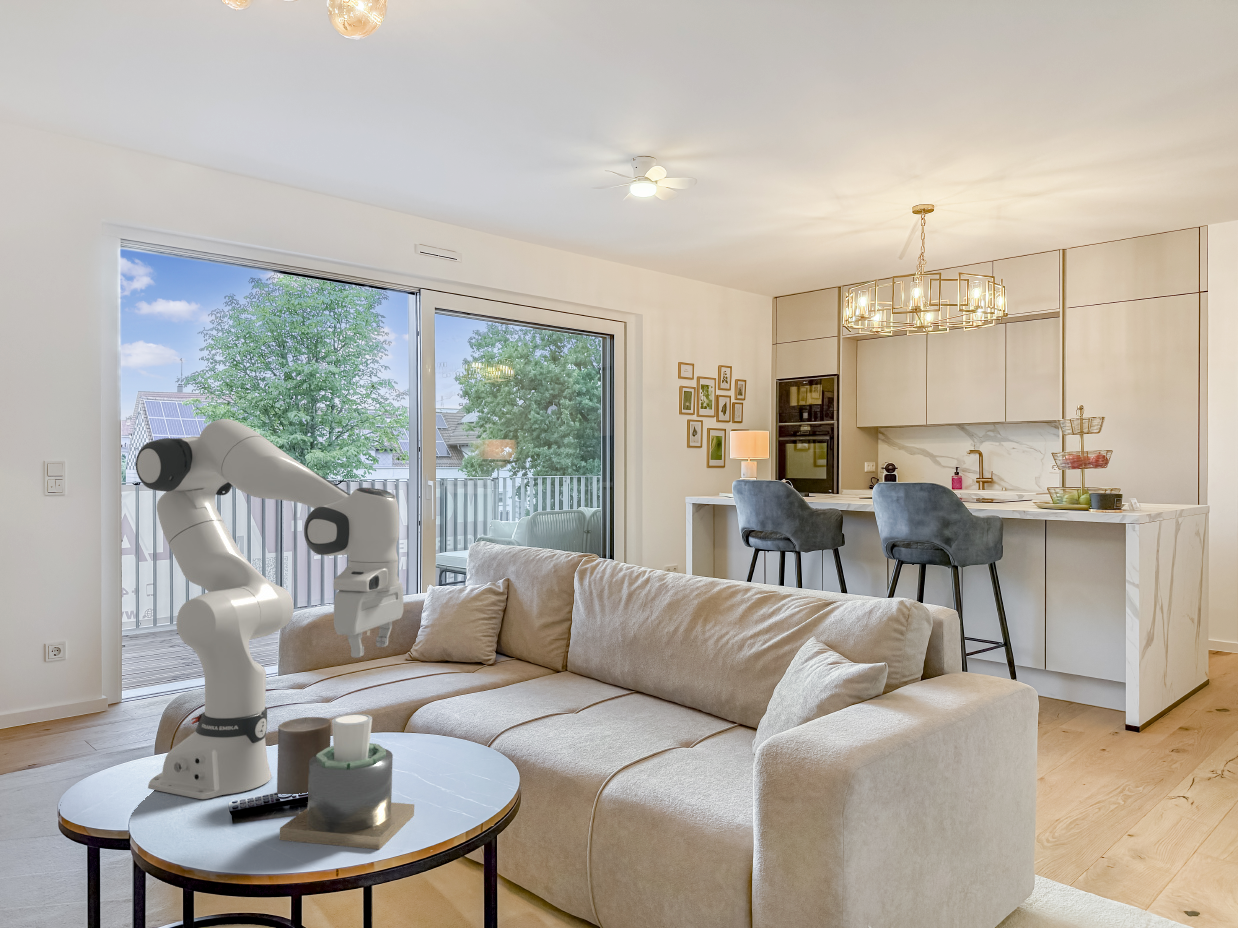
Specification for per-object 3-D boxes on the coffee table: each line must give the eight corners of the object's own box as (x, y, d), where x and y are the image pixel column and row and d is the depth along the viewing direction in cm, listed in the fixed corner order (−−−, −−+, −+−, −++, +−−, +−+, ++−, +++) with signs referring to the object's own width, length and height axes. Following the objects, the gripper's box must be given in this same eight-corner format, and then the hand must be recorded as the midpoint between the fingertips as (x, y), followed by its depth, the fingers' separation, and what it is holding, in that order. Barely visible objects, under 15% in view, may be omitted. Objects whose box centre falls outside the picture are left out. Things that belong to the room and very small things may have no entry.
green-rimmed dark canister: (279, 839, 134) (282, 762, 135) (322, 807, 148) (324, 736, 148) (379, 849, 131) (381, 769, 132) (414, 815, 145) (416, 743, 146)
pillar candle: (340, 788, 157) (341, 712, 158) (308, 806, 148) (310, 725, 149) (298, 783, 160) (300, 708, 161) (264, 801, 151) (266, 721, 151)
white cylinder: (357, 766, 136) (359, 725, 136) (322, 762, 137) (323, 722, 138) (378, 753, 143) (379, 714, 143) (344, 750, 144) (345, 711, 144)
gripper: (382, 569, 157) (380, 639, 157) (328, 581, 137) (325, 661, 137) (412, 571, 156) (410, 641, 156) (361, 583, 136) (358, 664, 135)
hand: (370, 651), depth 146 cm, fingers open, 8 cm apart
